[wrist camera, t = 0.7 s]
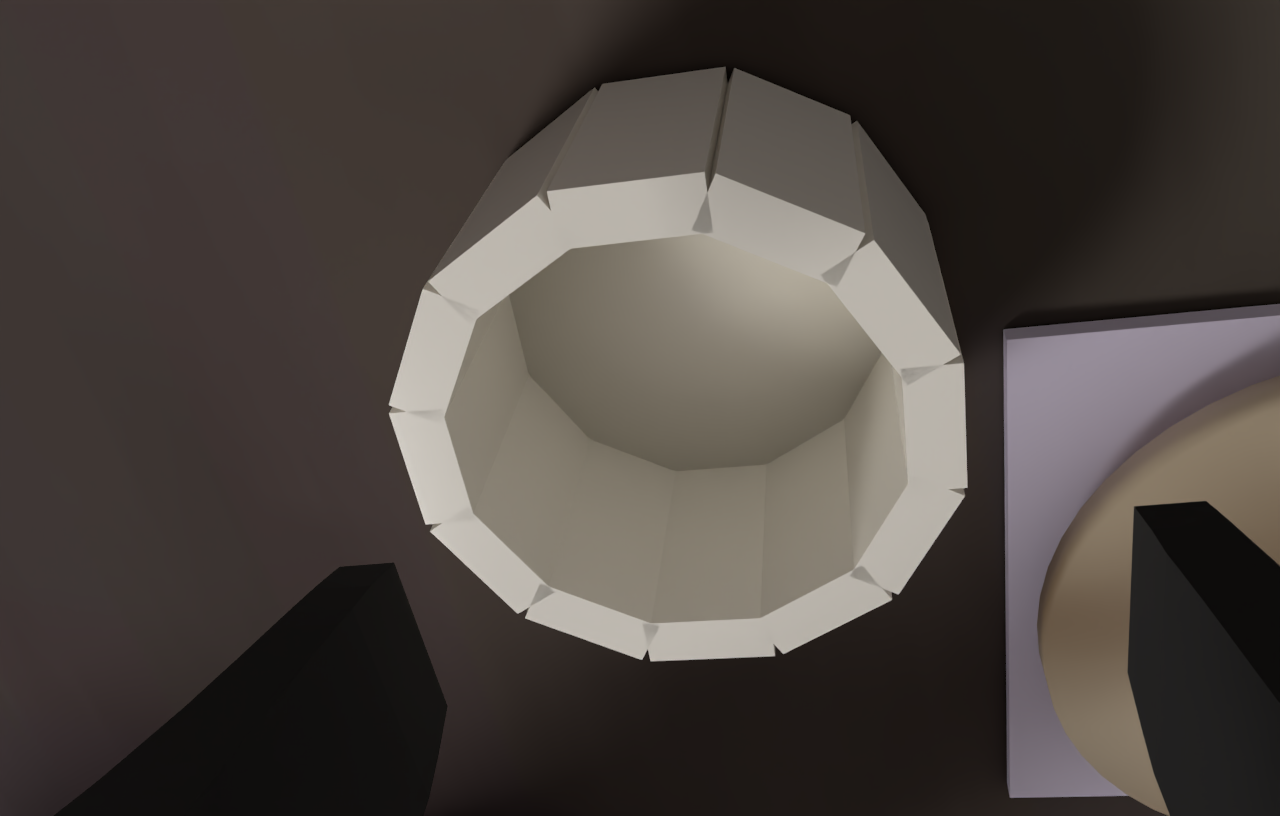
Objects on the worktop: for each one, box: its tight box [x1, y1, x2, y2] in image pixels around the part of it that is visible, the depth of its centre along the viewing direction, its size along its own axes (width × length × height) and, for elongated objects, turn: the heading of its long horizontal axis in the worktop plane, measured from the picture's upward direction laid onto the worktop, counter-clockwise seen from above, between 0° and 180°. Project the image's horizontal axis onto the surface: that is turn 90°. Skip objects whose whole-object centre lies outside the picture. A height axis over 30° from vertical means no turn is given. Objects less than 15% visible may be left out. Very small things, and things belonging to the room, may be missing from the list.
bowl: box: [389, 67, 967, 661], centre depth 18 cm, size 8×8×5 cm
